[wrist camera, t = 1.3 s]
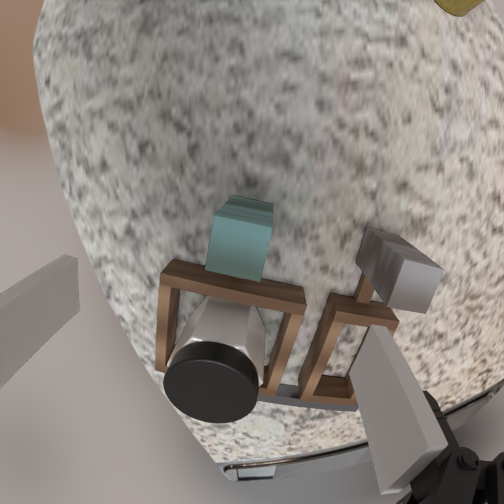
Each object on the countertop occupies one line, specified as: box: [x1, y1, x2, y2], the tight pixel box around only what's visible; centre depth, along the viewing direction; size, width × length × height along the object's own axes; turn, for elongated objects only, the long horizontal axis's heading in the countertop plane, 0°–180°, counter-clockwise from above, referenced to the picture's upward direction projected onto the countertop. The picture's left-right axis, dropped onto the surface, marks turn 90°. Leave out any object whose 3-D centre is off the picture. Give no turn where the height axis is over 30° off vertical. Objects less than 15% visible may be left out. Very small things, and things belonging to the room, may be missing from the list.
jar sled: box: [155, 196, 307, 397], centre depth 28 cm, size 21×14×10 cm
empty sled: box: [298, 227, 444, 406], centre depth 28 cm, size 21×7×10 cm, turn 168°
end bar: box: [257, 384, 359, 412], centre depth 36 cm, size 2×25×2 cm, turn 79°
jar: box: [163, 296, 266, 423], centre depth 29 cm, size 9×8×12 cm
